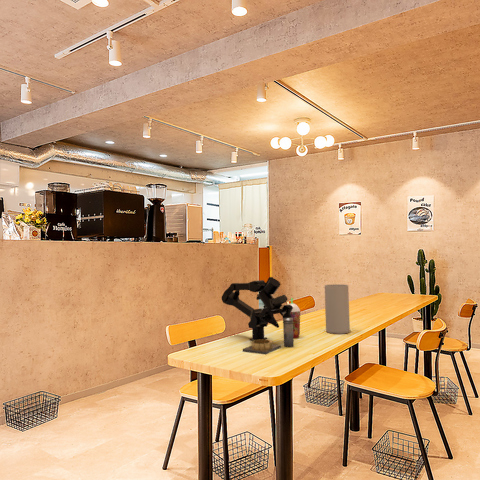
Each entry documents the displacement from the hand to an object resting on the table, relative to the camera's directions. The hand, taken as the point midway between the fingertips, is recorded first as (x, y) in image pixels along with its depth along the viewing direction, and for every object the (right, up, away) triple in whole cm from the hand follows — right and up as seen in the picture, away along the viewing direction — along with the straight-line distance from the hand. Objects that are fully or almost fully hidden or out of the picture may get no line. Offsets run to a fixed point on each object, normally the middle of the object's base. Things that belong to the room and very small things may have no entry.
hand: (285, 325), depth 192 cm
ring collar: (-11, -9, -6) cm, 16 cm away
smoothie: (+6, -10, +18) cm, 21 cm away
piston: (+1, -9, -2) cm, 9 cm away
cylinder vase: (+31, -9, +28) cm, 43 cm away
